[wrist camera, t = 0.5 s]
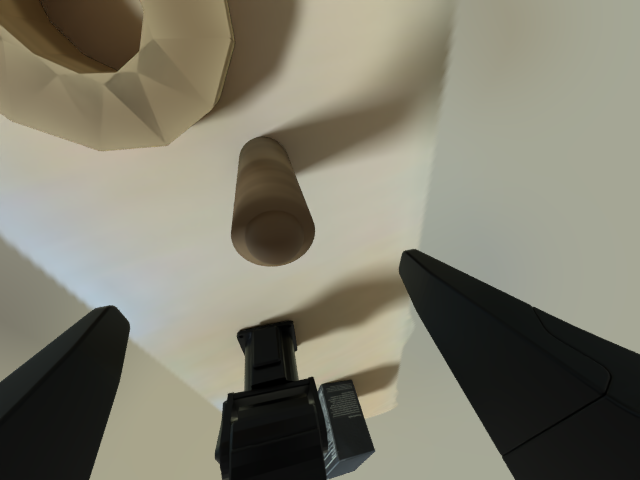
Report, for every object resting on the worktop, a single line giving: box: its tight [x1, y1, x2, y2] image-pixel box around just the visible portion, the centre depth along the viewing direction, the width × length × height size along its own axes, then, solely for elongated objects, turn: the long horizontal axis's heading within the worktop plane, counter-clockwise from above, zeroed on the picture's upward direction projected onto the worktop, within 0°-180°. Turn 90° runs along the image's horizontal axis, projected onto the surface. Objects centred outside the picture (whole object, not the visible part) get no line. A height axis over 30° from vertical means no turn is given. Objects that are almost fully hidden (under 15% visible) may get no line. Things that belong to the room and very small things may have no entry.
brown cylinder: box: [231, 137, 315, 266], centre depth 13 cm, size 3×3×10 cm
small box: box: [318, 380, 375, 480], centre depth 41 cm, size 11×6×10 cm, turn 166°
